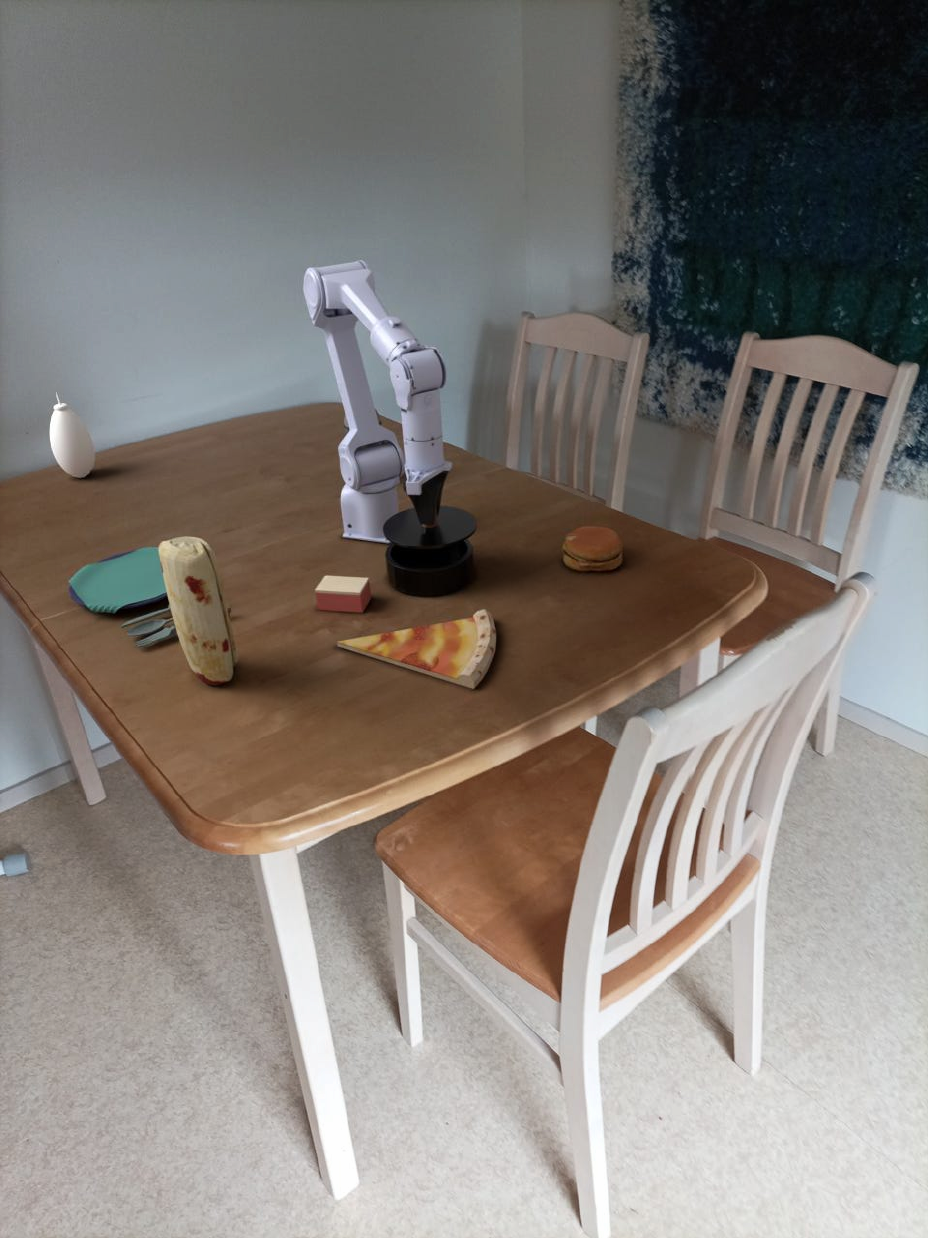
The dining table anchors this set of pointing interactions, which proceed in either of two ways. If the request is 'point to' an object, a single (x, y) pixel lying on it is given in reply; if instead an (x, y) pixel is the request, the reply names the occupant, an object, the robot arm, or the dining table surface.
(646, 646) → the dining table surface
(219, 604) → the food model
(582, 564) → the burger
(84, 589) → the cutlery set
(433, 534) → the pan lid
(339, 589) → the red and cream block
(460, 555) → the pan
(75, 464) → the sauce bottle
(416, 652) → the pizza slice
